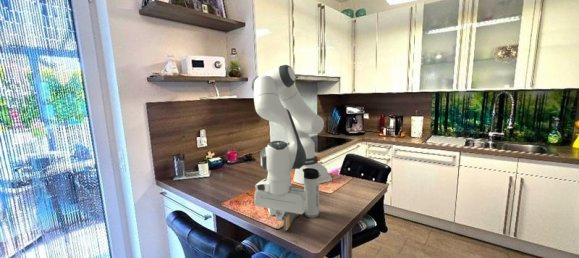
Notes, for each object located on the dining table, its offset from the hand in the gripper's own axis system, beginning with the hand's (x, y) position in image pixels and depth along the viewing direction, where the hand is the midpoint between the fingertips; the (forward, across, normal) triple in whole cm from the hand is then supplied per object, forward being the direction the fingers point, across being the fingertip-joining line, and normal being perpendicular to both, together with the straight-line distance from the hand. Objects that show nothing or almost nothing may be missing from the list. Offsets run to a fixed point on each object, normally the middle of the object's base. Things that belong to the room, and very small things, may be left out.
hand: (280, 219), depth 94 cm
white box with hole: (+4, +8, -18) cm, 20 cm away
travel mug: (+4, -8, -15) cm, 17 cm away
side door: (+3, -2, -7) cm, 8 cm away
